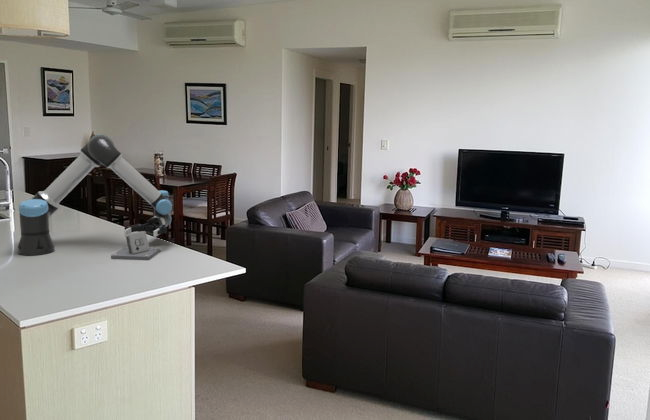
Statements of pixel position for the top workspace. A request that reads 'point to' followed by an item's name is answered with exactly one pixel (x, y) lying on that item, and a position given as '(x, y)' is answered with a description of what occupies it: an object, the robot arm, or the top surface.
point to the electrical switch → (137, 242)
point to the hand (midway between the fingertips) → (139, 233)
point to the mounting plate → (138, 256)
